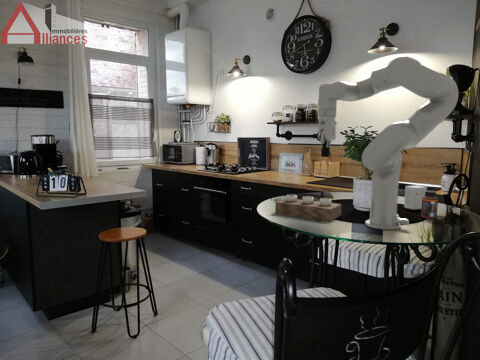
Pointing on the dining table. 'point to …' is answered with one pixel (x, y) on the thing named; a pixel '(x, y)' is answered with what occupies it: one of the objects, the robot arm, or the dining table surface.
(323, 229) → the dining table surface
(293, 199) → the knob far
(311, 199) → the knob middle
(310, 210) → the knob mount
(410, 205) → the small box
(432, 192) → the supplement bottle
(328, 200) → the knob near
